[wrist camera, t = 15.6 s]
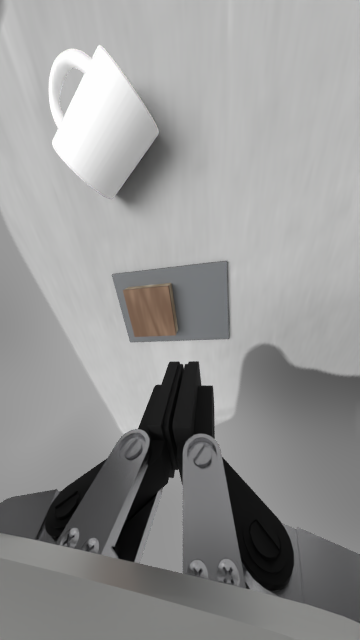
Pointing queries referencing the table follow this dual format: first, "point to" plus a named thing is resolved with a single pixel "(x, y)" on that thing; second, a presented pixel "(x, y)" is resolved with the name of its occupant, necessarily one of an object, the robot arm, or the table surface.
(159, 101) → the table surface
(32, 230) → the table surface
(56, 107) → the mug
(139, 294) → the tile
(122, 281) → the mat
